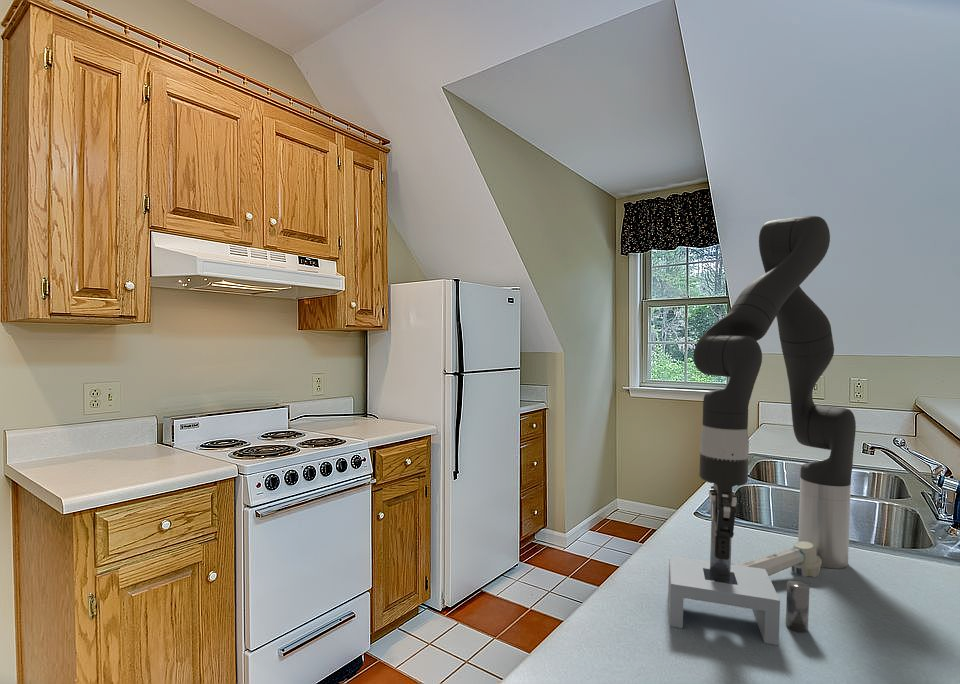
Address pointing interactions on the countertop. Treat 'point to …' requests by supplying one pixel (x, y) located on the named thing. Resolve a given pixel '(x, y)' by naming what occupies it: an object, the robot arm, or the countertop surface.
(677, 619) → the bridge
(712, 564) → the tall pin
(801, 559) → the beige toy mallet
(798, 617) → the short pin
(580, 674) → the countertop surface
